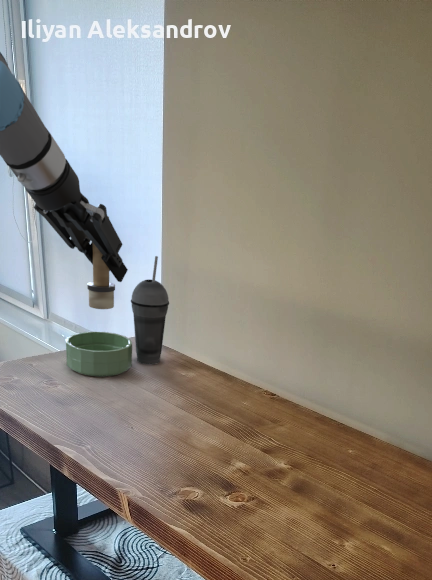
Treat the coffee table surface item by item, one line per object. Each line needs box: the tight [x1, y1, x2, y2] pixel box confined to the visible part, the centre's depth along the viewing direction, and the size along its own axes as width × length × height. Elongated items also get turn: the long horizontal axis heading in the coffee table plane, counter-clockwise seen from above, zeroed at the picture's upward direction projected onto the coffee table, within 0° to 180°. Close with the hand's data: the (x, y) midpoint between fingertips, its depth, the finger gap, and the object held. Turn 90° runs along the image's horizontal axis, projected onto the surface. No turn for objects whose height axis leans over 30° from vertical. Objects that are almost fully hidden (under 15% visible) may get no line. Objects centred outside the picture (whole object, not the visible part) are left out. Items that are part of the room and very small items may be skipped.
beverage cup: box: [130, 255, 170, 365], centre depth 119 cm, size 7×7×20 cm
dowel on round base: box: [86, 215, 116, 310], centre depth 108 cm, size 5×5×15 cm
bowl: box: [65, 331, 133, 377], centre depth 117 cm, size 12×12×5 cm
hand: (114, 273), depth 112 cm, fingers closed on dowel on round base, 3 cm apart
